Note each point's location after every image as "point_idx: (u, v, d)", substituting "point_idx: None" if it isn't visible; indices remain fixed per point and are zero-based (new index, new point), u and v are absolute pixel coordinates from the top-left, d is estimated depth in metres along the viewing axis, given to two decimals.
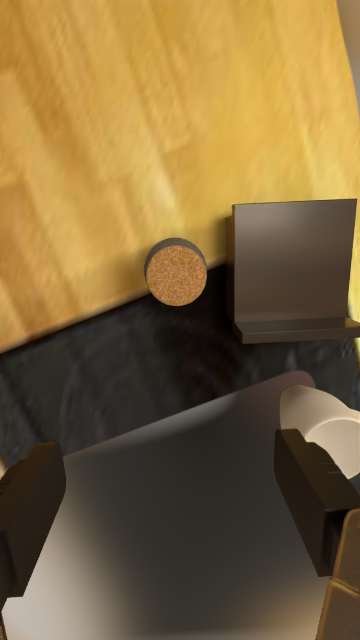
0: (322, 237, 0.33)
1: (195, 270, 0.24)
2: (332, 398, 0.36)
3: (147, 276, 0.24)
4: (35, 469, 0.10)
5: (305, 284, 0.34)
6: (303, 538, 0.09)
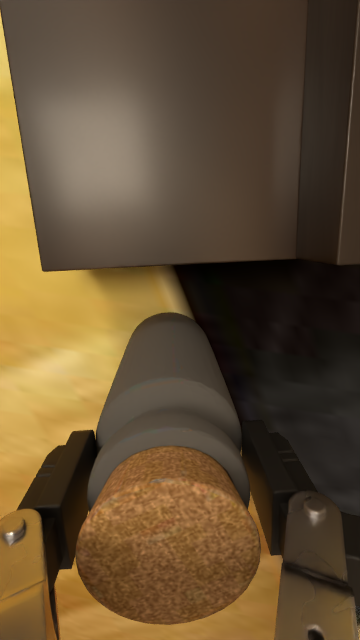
0: (95, 40, 0.13)
1: (148, 515, 0.07)
2: None
3: (169, 623, 0.08)
4: (76, 453, 0.10)
5: (213, 79, 0.14)
6: (261, 521, 0.10)
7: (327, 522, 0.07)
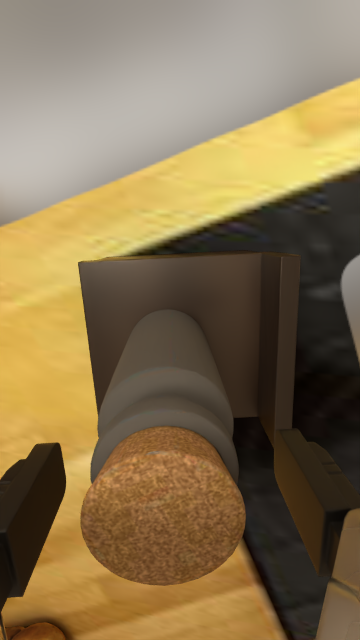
0: (136, 307, 0.22)
1: (144, 483, 0.08)
2: None
3: (164, 584, 0.09)
4: (35, 469, 0.10)
5: (205, 324, 0.23)
6: (303, 538, 0.09)
7: None
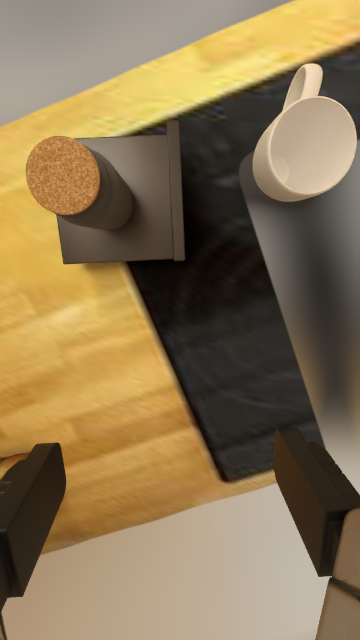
0: None
1: (52, 151, 0.19)
2: (257, 145, 0.31)
3: (65, 213, 0.20)
4: (35, 469, 0.10)
5: (133, 187, 0.34)
6: (303, 538, 0.09)
7: None
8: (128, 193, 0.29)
